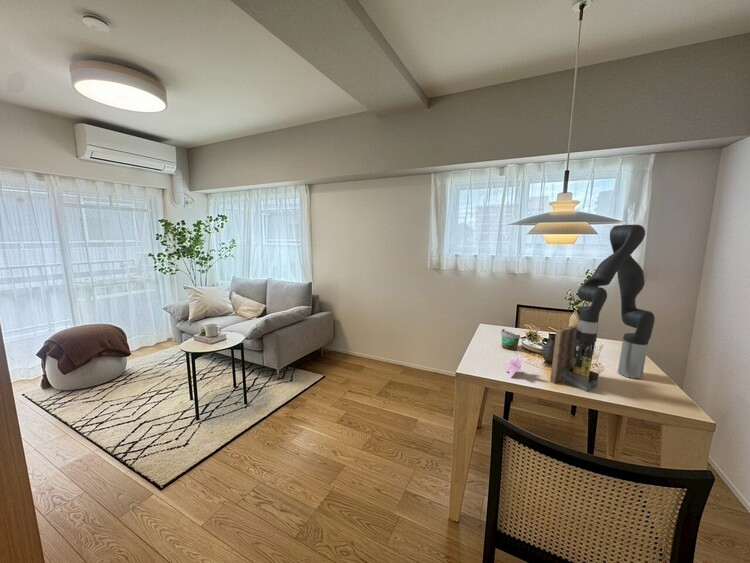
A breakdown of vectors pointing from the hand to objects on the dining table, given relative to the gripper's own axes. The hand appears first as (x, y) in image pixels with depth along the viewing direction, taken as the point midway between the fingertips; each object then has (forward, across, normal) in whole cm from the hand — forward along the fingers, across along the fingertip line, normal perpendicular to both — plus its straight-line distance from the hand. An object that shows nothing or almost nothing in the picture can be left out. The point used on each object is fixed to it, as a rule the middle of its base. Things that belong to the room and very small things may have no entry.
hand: (582, 365), depth 136 cm
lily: (+10, +18, -21) cm, 29 cm away
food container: (+9, -9, -44) cm, 46 cm away
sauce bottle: (+7, 0, 0) cm, 7 cm away
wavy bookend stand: (+9, 0, -2) cm, 9 cm away
